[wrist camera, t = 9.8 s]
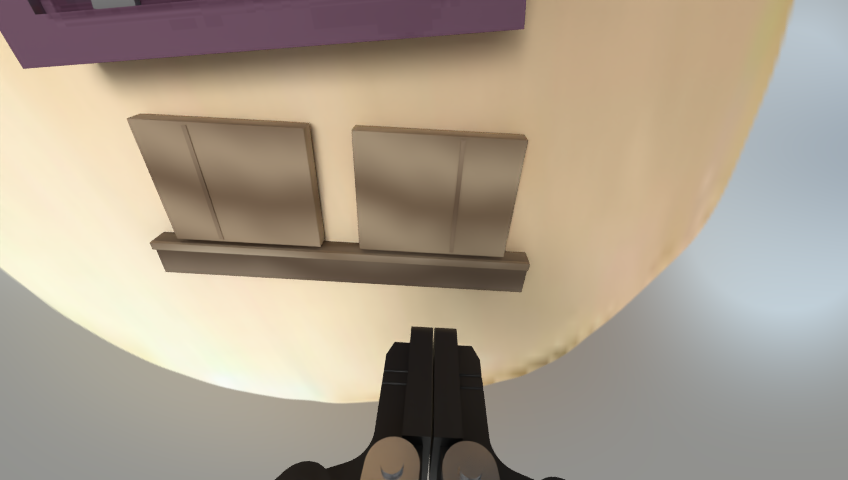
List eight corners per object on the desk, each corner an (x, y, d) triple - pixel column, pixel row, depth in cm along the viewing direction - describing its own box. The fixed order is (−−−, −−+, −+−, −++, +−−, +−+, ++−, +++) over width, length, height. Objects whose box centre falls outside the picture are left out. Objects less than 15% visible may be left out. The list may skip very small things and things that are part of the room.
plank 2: (355, 125, 23) (351, 131, 22) (524, 134, 23) (528, 140, 22) (362, 240, 28) (359, 249, 27) (501, 248, 28) (503, 257, 27)
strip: (163, 232, 28) (149, 242, 27) (525, 252, 28) (529, 264, 27) (175, 262, 30) (163, 274, 28) (518, 282, 30) (522, 294, 28)
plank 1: (140, 113, 23) (125, 119, 22) (309, 122, 23) (302, 128, 22) (186, 230, 28) (176, 239, 27) (324, 237, 28) (320, 247, 27)
